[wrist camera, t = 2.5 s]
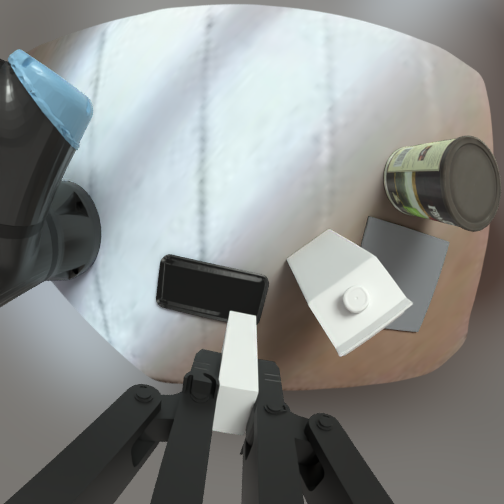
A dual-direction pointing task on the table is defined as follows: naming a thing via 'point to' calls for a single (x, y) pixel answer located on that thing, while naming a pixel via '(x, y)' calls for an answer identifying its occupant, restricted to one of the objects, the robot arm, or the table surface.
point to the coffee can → (445, 182)
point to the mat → (407, 265)
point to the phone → (209, 289)
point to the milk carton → (346, 290)
